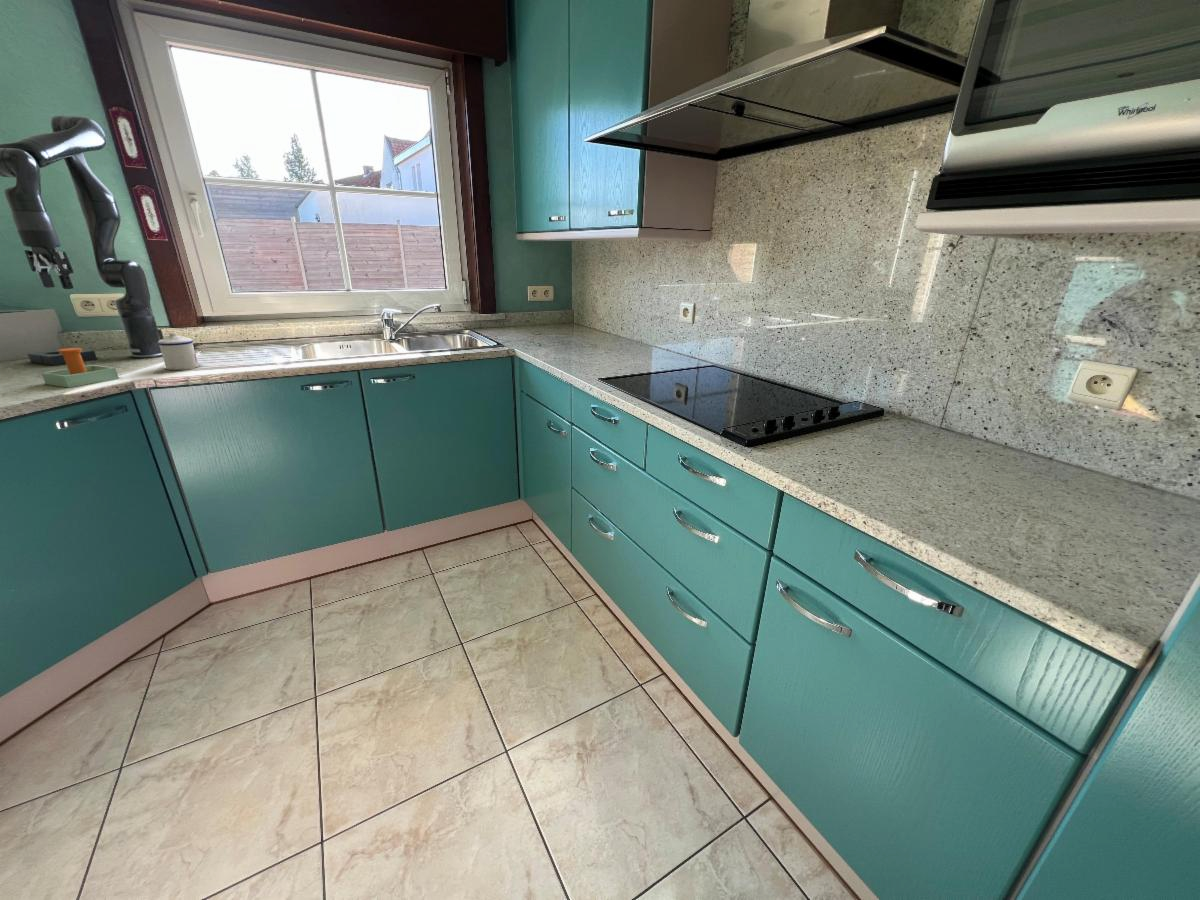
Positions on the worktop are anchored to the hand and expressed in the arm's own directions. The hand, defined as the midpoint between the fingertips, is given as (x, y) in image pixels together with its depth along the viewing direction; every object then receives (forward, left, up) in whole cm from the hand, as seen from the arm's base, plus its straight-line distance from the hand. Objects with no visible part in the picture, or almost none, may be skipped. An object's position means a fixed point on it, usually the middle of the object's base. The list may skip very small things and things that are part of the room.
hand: (59, 288), depth 146 cm
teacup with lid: (-17, +16, -26) cm, 34 cm away
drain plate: (-8, -27, -26) cm, 38 cm away
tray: (+7, +11, -26) cm, 29 cm away
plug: (+8, +11, -25) cm, 28 cm away
